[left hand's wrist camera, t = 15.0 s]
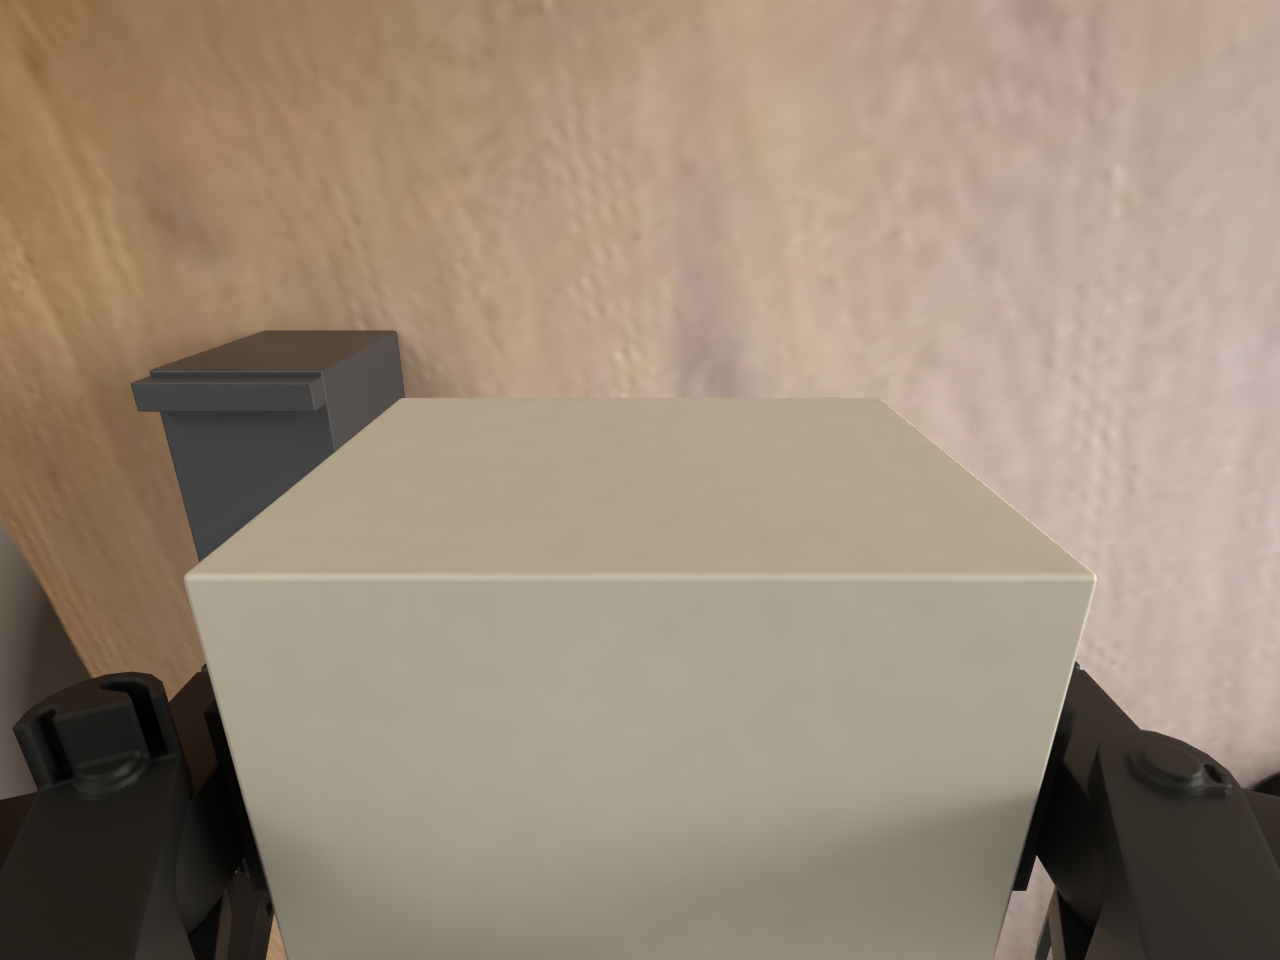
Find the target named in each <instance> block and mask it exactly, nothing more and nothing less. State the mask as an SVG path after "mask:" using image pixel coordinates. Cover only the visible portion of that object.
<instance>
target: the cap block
mask: <svg viewBox="0 0 1280 960" xmlns="http://www.w3.org/2000/svg"><path fill="white" fill-rule="evenodd" d="M1096 583H1097V578H1096V575H1095V574H1094V573H1093V572H1092V571H1091V570H1089V569H1088V568H1087V567H1086V566H1084V565H1083V564H1082V563H1081V562H1080V561H1078V560H1077V559H1076V558H1075V557H1073V556H1072V555H1071V554H1070V553H1069V552H1067V551H1066V550H1065V549H1064V548H1062V547H1061V546H1060V545H1059V544H1058V543H1056V542H1055V541H1054V540H1053V539H1051V538H1050V537H1049V536H1048V535H1046V534H1045V533H1044V532H1043V531H1042V530H1040V529H1039V528H1038V527H1037V526H1035V525H1034V524H1033V523H1032V522H1031V521H1029V520H1028V519H1027V518H1026V517H1024V516H1023V515H1022V514H1021V513H1020V512H1018V511H1017V510H1016V509H1015V508H1013V507H1012V506H1011V505H1010V504H1009V503H1007V502H1006V501H1005V500H1004V499H1002V498H1001V497H1000V496H999V495H998V494H996V493H995V492H994V491H993V490H991V489H990V488H989V487H988V486H986V485H985V484H984V483H983V482H982V481H980V480H979V479H978V478H977V477H975V476H974V475H973V474H972V473H971V472H969V471H968V470H967V469H966V468H964V467H963V466H962V465H961V464H960V463H958V462H957V461H956V460H955V459H953V458H952V457H951V456H950V455H949V454H947V453H946V452H945V451H944V450H942V449H941V448H940V447H939V446H938V445H936V444H935V443H934V442H933V441H931V440H930V439H929V438H928V437H926V436H925V435H924V434H923V433H922V432H920V431H919V430H918V429H917V428H915V427H914V426H913V425H912V424H911V423H909V422H908V421H907V420H906V419H904V418H903V417H902V416H901V415H900V414H898V413H897V412H896V411H895V410H893V409H892V408H891V407H890V406H889V405H887V404H886V403H885V402H884V401H882V400H881V399H879V398H401V399H399V400H398V401H397V402H396V403H394V404H393V405H392V406H391V407H390V408H388V409H387V410H386V411H385V412H383V413H382V414H381V415H380V416H379V417H377V418H376V419H375V420H374V421H372V422H371V423H370V424H369V425H368V426H366V427H365V428H364V429H363V430H361V431H360V432H359V433H358V434H357V435H355V436H354V437H353V438H352V439H350V440H349V441H348V442H347V443H345V444H344V445H343V446H342V447H341V448H339V449H338V450H337V451H336V452H334V453H333V454H332V455H331V456H330V457H328V458H327V459H326V460H325V461H323V462H322V463H321V464H320V465H319V466H317V467H316V468H315V469H314V470H312V471H311V472H310V473H309V474H308V475H306V476H305V477H304V478H303V479H301V480H300V481H299V482H298V483H296V484H295V485H294V486H293V487H292V488H290V489H289V490H288V491H287V492H285V493H284V494H283V495H282V496H281V497H279V498H278V499H277V500H276V501H274V502H273V503H272V504H271V505H270V506H268V507H267V508H266V509H265V510H263V511H262V512H261V513H260V514H259V515H257V516H256V517H255V518H254V519H252V520H251V521H250V522H249V523H247V524H246V525H245V526H244V527H243V528H241V529H240V530H239V531H238V532H236V533H235V534H234V535H233V536H232V537H230V538H229V539H228V540H227V541H225V542H224V543H223V544H222V545H221V546H219V547H218V548H217V549H216V550H214V551H213V552H212V553H211V554H210V555H208V556H207V557H206V558H205V559H203V560H202V561H201V562H200V563H199V564H197V565H196V566H195V567H194V568H192V569H191V570H190V571H189V572H187V573H186V574H185V576H184V584H185V588H186V592H187V595H188V599H189V603H190V606H191V610H192V613H193V617H194V621H195V624H196V628H197V632H198V635H199V639H200V643H201V646H202V650H203V654H204V657H205V661H206V665H207V668H208V672H209V676H210V679H211V683H212V687H213V690H214V694H215V697H216V701H217V705H218V708H219V712H220V716H221V719H222V723H223V727H224V730H225V734H226V738H227V741H228V745H229V749H230V752H231V756H232V760H233V763H234V767H235V771H236V774H237V778H238V781H239V785H240V789H241V792H242V796H243V800H244V803H245V807H246V811H247V814H248V818H249V822H250V825H251V829H252V833H253V836H254V840H255V844H256V847H257V851H258V855H259V858H260V862H261V865H262V869H263V873H264V876H265V880H266V884H267V887H268V891H269V895H270V898H271V902H272V906H273V909H274V913H275V917H276V920H277V924H278V928H279V931H280V935H281V939H282V942H283V946H284V949H285V953H286V957H287V960H993V959H994V955H995V952H996V948H997V944H998V941H999V937H1000V933H1001V930H1002V926H1003V922H1004V919H1005V915H1006V912H1007V908H1008V904H1009V901H1010V897H1011V893H1012V890H1013V886H1014V882H1015V879H1016V875H1017V871H1018V868H1019V864H1020V860H1021V857H1022V853H1023V849H1024V846H1025V842H1026V839H1027V835H1028V831H1029V828H1030V824H1031V820H1032V817H1033V813H1034V809H1035V806H1036V802H1037V798H1038V795H1039V791H1040V787H1041V784H1042V780H1043V777H1044V773H1045V769H1046V766H1047V762H1048V758H1049V755H1050V751H1051V747H1052V744H1053V740H1054V736H1055V733H1056V729H1057V725H1058V722H1059V718H1060V714H1061V711H1062V707H1063V704H1064V700H1065V696H1066V693H1067V689H1068V685H1069V682H1070V678H1071V674H1072V671H1073V667H1074V663H1075V660H1076V656H1077V652H1078V649H1079V645H1080V641H1081V638H1082V634H1083V631H1084V627H1085V623H1086V620H1087V616H1088V612H1089V609H1090V605H1091V601H1092V598H1093V594H1094V590H1095V587H1096Z"/></svg>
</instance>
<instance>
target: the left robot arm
mask: <svg viewBox="0 0 1280 960" xmlns="http://www.w3.org/2000/svg"><path fill="white" fill-rule="evenodd" d="M13 731H14V733H15V735H16V738H17V740H18V743H19V745H20V747H21V750H22V752H23V755H24V757H25V760H26V762H27V764H28V767H29V769H30V772H31V774H32V776H33V779H34V781H35V784H36V786H37V788H38V791H37V792H35V793H30V794H26V795H21V796H17V797H12V798H8V799H3V800H0V960H227V956H228V947H229V938H230V929H231V919H232V914H231V908H230V902H229V898H228V895H227V891H226V887H227V885H228V884H229V882H230V880H231V879H232V877H233V875H234V874H235V872H236V871H237V869H238V867H239V866H240V864H241V862H242V861H243V859H244V857H245V860H246V864H247V867H248V871H249V874H250V878H251V881H252V885H253V888H254V891H268V887H267V884H266V880H265V876H264V873H263V869H262V865H261V862H260V858H259V855H258V851H257V847H256V844H255V840H254V836H253V833H252V829H251V825H250V822H249V818H248V814H247V811H246V807H245V803H244V800H243V796H242V792H241V789H240V785H239V781H238V778H237V774H236V771H235V767H234V763H233V760H232V756H231V752H230V749H229V745H228V741H227V738H226V734H225V730H224V727H223V723H222V719H221V716H220V712H219V708H218V705H217V701H216V697H215V694H214V690H213V687H212V683H211V679H210V676H209V672H208V668H207V665H206V664H205V665H204V666H203V667H202V670H201V672H197V673H196V674H195V675H194V676H193V677H192V678H191V679H190V681H189V682H188V683H187V684H186V685H185V686H184V687H183V688H182V689H181V690H180V691H179V692H178V693H177V694H176V695H175V697H174V698H173V699H172V700H171V701H170V702H168V699H167V696H166V692H165V689H164V686H163V683H162V681H160V680H159V679H157V678H156V677H154V676H153V675H152V674H146V673H138V672H124V673H116V674H108V675H103V676H100V677H96V678H93V679H90V680H86V681H83V682H80V683H77V684H74V685H72V686H70V687H68V688H66V689H64V690H61V691H59V692H57V693H55V694H53V695H51V696H49V697H47V698H46V699H45V700H43V701H42V702H40V703H39V704H37V705H36V706H34V707H33V708H31V709H30V710H29V711H27V712H26V713H25V714H24V716H23V717H22V718H21V719H20V720H19V721H18V722H17V723H16V725H15V726H14V727H13ZM1036 855H1037V856H1038V858H1039V859H1040V861H1041V863H1042V864H1043V866H1044V868H1045V869H1046V871H1047V873H1048V874H1049V876H1050V878H1051V879H1052V881H1053V883H1054V884H1055V888H1054V891H1053V895H1052V898H1051V901H1050V904H1049V908H1048V911H1047V914H1046V917H1045V921H1044V924H1043V927H1042V931H1041V934H1040V937H1039V940H1038V944H1037V949H1036V955H1035V959H1036V960H1046V959H1047V956H1048V953H1049V949H1050V946H1052V954H1053V960H1280V797H1278V796H1273V795H1269V794H1264V793H1260V792H1255V791H1251V790H1246V789H1243V788H1241V787H1240V785H1239V784H1238V783H1237V781H1236V780H1235V779H1234V777H1233V776H1232V775H1231V773H1230V772H1229V771H1228V770H1227V769H1225V768H1224V767H1223V766H1222V765H1220V764H1219V763H1218V762H1217V761H1215V760H1214V759H1213V758H1211V757H1210V756H1209V755H1208V754H1206V753H1204V752H1202V751H1200V750H1198V749H1196V748H1195V747H1193V746H1191V745H1189V744H1187V743H1185V742H1183V741H1181V740H1178V739H1175V738H1172V737H1169V736H1166V735H1163V734H1160V733H1157V732H1153V731H1146V730H1140V729H1139V727H1138V726H1137V725H1136V724H1135V723H1134V722H1133V721H1132V720H1131V719H1130V718H1129V717H1128V716H1127V715H1126V714H1125V713H1124V712H1123V711H1122V709H1121V708H1120V707H1119V706H1118V705H1117V704H1116V703H1115V702H1114V701H1113V700H1112V699H1111V698H1110V697H1109V696H1108V695H1107V694H1106V693H1105V692H1104V690H1103V689H1102V688H1101V687H1100V686H1099V685H1098V684H1097V683H1096V682H1095V681H1094V680H1093V679H1092V678H1091V677H1090V676H1089V675H1088V674H1087V673H1086V671H1085V670H1080V665H1079V664H1078V663H1077V662H1076V661H1075V663H1074V667H1073V671H1072V674H1071V678H1070V682H1069V685H1068V689H1067V693H1066V696H1065V700H1064V704H1063V707H1062V711H1061V714H1060V718H1059V722H1058V725H1057V729H1056V733H1055V736H1054V740H1053V744H1052V747H1051V751H1050V755H1049V758H1048V762H1047V766H1046V769H1045V773H1044V777H1043V780H1042V784H1041V787H1040V791H1039V795H1038V798H1037V802H1036V806H1035V809H1034V813H1033V817H1032V820H1031V824H1030V828H1029V831H1028V835H1027V839H1026V842H1025V846H1024V849H1023V853H1022V857H1021V860H1020V864H1019V868H1018V871H1017V875H1016V879H1015V882H1014V886H1013V890H1012V891H1026V890H1027V887H1028V883H1029V880H1030V876H1031V873H1032V869H1033V866H1034V862H1035V859H1036Z"/></svg>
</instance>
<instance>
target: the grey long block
mask: <svg viewBox="0 0 1280 960" xmlns="http://www.w3.org/2000/svg"><path fill="white" fill-rule="evenodd" d="M131 387H132V390H133V394H134V398H135V401H136V405H137V409H138V411H160V414H161V418H162V421H163V425H164V429H165V433H166V437H167V440H168V444H169V448H170V452H171V456H172V459H173V463H174V467H175V471H176V475H177V478H178V482H179V486H180V490H181V494H182V497H183V501H184V505H185V509H186V513H187V516H188V520H189V524H190V528H191V532H192V535H193V539H194V543H195V547H196V551H197V554H198V558H199V562H201V561H202V560H203V559H205V558H206V557H207V556H208V555H210V554H211V553H212V552H213V551H214V550H216V549H217V548H218V547H219V546H221V545H222V544H223V543H224V542H225V541H227V540H228V539H229V538H230V537H232V536H233V535H234V534H235V533H236V532H238V531H239V530H240V529H241V528H243V527H244V526H245V525H246V524H247V523H249V522H250V521H251V520H252V519H254V518H255V517H256V516H257V515H259V514H260V513H261V512H262V511H263V510H265V509H266V508H267V507H268V506H270V505H271V504H272V503H273V502H274V501H276V500H277V499H278V498H279V497H281V496H282V495H283V494H284V493H285V492H287V491H288V490H289V489H290V488H292V487H293V486H294V485H295V484H296V483H298V482H299V481H300V480H301V479H303V478H304V477H305V476H306V475H308V474H309V473H310V472H311V471H312V470H314V469H315V468H316V467H317V466H319V465H320V464H321V463H322V462H323V461H325V460H326V459H327V458H328V457H330V456H331V455H332V454H333V453H334V452H336V451H337V450H338V449H339V448H341V447H342V446H343V445H344V444H345V443H347V442H348V441H349V440H350V439H352V438H353V437H354V436H355V435H357V434H358V433H359V432H360V431H361V430H363V429H364V428H365V427H366V426H368V425H369V424H370V423H371V422H372V421H374V420H375V419H376V418H377V417H379V416H380V415H381V414H382V413H383V412H385V411H386V410H387V409H388V408H390V407H391V406H392V405H393V404H394V403H396V402H397V401H398V400H399V399H401V398H405V394H404V386H403V378H402V371H401V363H400V355H399V347H398V339H397V333H396V331H263V332H260V333H257V334H254V335H251V336H248V337H245V338H242V339H239V340H237V341H234V342H231V343H228V344H225V345H222V346H219V347H216V348H213V349H210V350H208V351H205V352H202V353H199V354H196V355H193V356H190V357H187V358H184V359H181V360H179V361H176V362H173V363H170V364H167V365H164V366H161V367H158V368H155V369H152V370H150V376H149V377H146V378H144V379H141V380H138V381H135V382H132V383H131Z"/></svg>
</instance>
